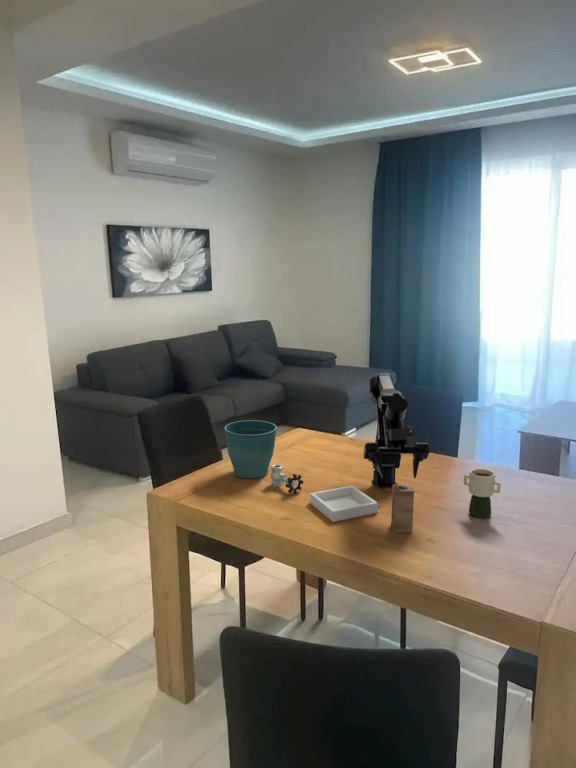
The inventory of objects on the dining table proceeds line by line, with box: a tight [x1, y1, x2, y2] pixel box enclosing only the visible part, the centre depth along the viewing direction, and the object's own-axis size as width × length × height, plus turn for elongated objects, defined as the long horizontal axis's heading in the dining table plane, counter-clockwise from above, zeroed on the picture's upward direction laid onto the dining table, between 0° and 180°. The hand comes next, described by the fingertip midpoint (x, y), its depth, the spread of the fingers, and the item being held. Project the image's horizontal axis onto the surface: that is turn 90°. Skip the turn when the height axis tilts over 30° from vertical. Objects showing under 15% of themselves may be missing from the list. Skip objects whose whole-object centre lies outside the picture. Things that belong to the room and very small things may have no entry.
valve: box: [270, 464, 304, 495], centre depth 190 cm, size 7×7×12 cm
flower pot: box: [224, 419, 278, 479], centre depth 203 cm, size 18×18×17 cm
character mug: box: [463, 468, 502, 518], centre depth 169 cm, size 11×7×13 cm, turn 50°
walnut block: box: [390, 483, 415, 533], centre depth 160 cm, size 5×5×12 cm
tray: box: [309, 485, 379, 523], centre depth 175 cm, size 15×15×3 cm
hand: (399, 477), depth 165 cm, fingers open, 9 cm apart
